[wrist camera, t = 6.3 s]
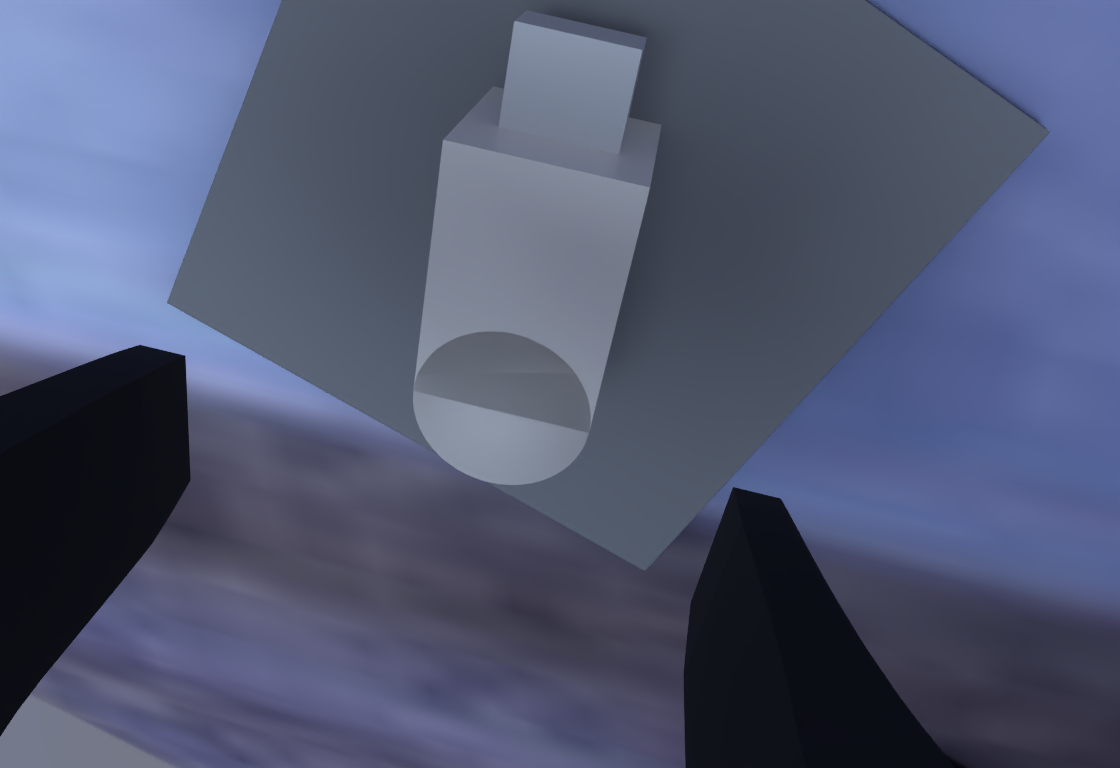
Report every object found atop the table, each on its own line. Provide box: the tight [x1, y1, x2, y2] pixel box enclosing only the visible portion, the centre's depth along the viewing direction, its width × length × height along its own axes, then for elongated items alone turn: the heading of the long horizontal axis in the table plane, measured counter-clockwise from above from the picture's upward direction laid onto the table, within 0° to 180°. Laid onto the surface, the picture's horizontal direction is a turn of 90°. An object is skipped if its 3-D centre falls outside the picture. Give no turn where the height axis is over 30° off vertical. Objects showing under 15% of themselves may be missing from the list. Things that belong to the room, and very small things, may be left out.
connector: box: [413, 10, 662, 485], centre depth 18 cm, size 8×4×4 cm, turn 170°
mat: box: [167, 0, 1050, 571], centre depth 20 cm, size 14×14×1 cm
